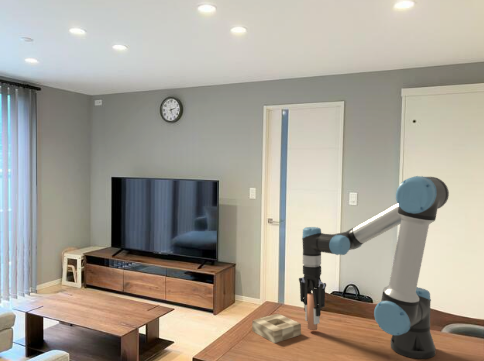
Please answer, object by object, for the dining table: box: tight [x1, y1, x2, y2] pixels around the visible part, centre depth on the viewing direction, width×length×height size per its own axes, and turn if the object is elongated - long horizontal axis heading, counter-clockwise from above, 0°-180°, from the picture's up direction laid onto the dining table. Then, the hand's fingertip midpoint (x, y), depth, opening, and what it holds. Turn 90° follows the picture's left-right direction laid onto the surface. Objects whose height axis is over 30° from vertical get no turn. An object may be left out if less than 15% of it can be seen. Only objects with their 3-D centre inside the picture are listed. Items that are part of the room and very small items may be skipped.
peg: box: [307, 292, 318, 331], centre depth 157 cm, size 4×4×14 cm
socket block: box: [251, 313, 302, 344], centre depth 155 cm, size 14×14×4 cm
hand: (312, 321), depth 157 cm, fingers closed on peg, 4 cm apart
